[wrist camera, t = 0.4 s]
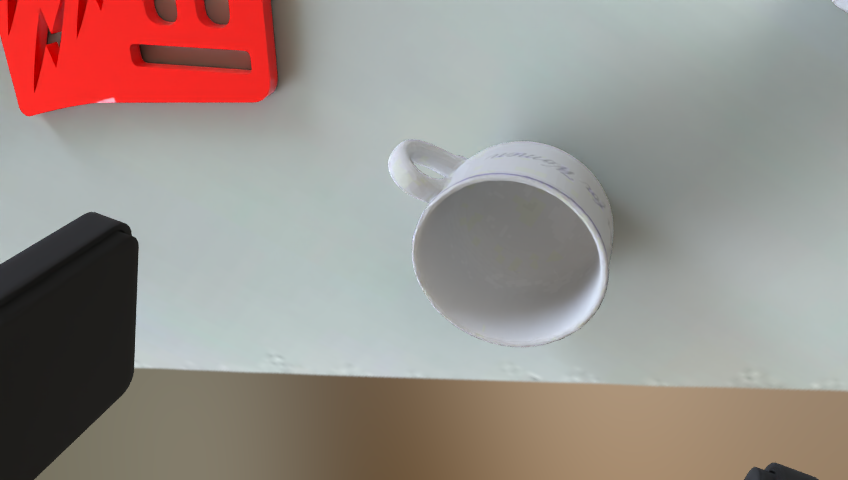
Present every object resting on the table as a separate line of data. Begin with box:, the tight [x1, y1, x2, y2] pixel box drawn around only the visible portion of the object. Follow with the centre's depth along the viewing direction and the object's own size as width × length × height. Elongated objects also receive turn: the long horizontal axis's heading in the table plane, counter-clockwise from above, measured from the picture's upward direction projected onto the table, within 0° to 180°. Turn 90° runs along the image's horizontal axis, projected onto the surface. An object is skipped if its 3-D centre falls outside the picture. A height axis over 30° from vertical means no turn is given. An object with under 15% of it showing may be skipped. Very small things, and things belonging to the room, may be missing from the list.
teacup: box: [388, 139, 614, 347], centre depth 44 cm, size 14×11×8 cm
